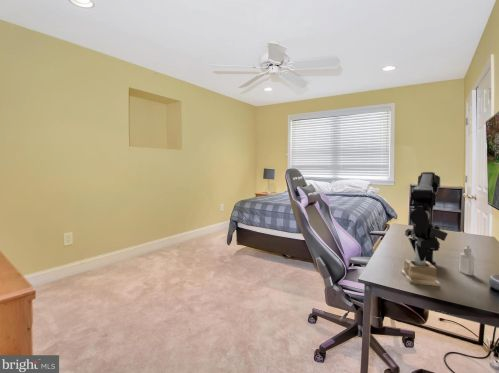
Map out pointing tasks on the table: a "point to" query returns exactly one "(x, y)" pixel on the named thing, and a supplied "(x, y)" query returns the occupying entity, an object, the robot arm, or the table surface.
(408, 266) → the bottle holder
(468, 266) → the eye dropper bottle
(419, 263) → the peg
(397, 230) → the table surface
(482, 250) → the table surface
